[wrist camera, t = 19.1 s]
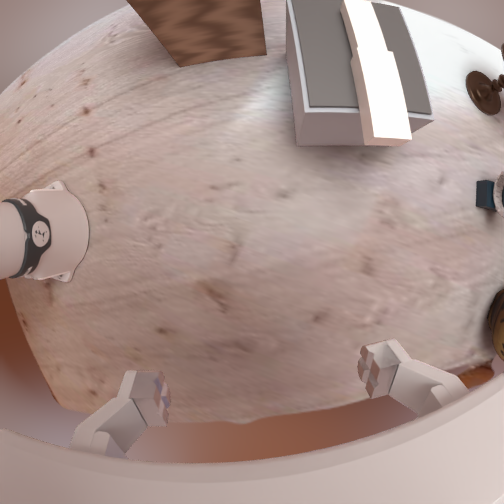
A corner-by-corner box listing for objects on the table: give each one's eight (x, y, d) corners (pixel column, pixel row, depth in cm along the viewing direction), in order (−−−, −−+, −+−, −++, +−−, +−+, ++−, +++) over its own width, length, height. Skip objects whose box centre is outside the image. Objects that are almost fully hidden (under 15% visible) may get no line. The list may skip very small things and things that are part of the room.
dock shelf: (296, 146, 38) (305, 110, 23) (285, 53, 36) (286, -6, 21) (388, 146, 37) (436, 118, 22) (371, 56, 34) (400, 5, 20)
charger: (364, 144, 23) (374, 137, 20) (336, 11, 21) (341, -5, 18) (398, 146, 23) (411, 139, 20) (367, 14, 21) (374, -1, 18)
